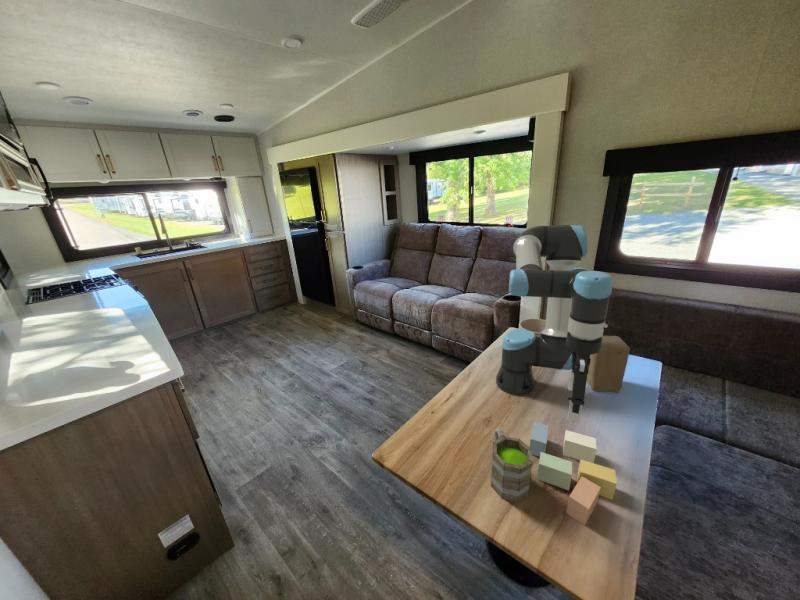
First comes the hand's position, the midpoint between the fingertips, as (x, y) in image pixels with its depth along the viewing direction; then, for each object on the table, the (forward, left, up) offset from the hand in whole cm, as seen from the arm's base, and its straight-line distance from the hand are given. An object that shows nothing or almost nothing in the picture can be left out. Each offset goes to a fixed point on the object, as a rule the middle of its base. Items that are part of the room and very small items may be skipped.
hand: (573, 404), depth 83 cm
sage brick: (-2, -6, -22) cm, 23 cm away
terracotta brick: (+5, -12, -22) cm, 26 cm away
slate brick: (-7, +4, -22) cm, 23 cm away
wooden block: (+12, +47, -22) cm, 53 cm away
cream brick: (+4, +6, -22) cm, 23 cm away
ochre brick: (+8, -4, -22) cm, 24 cm away
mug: (-14, -11, -22) cm, 29 cm away
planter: (-15, +67, -22) cm, 72 cm away
